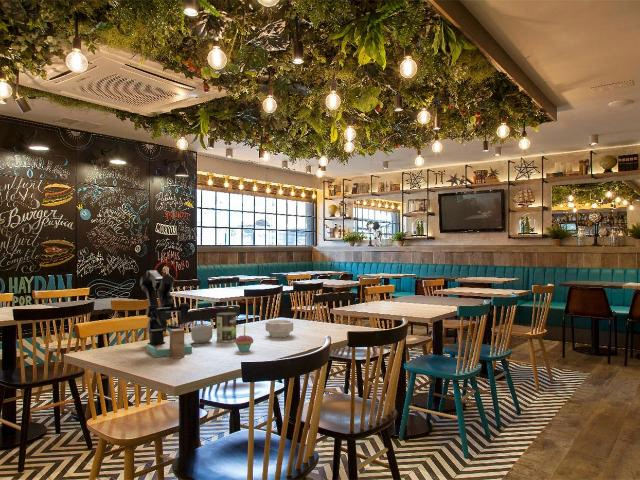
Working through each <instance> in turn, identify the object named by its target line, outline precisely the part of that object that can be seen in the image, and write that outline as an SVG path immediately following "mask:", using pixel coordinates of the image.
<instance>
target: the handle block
mask: <svg viewBox="0 0 640 480" xmlns="http://www.w3.org/2000/svg"><path fill="white" fill-rule="evenodd" d="M184 342H185V329H183V328H173V329H169V348H170V356H169V357H170V359H171V358H172V359H173V360H174V359H175V360H176V359H180V358H185V354H184Z"/></svg>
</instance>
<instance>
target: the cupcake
mask: <svg viewBox="0 0 640 480" xmlns="http://www.w3.org/2000/svg"><path fill="white" fill-rule="evenodd" d="M253 343H254V338H253V337H252V336H250V335H246V324H244V326H243V335H239V336H238V337H236V339H235V341H234V344H236V346H237V349H238V351H239V352H241V353H242V352H244V353H245V352H249V351H250V350H251V349H250V348H251V346H252V344H253Z"/></svg>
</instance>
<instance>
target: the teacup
mask: <svg viewBox="0 0 640 480" xmlns="http://www.w3.org/2000/svg"><path fill="white" fill-rule="evenodd" d="M190 335H191V341H192V342H194V343H195V344H205V343H209V342H210V341H211V340H212V339H213V325H211V324H210V325H209V324H207V325H204V324H203V325H196V326H192V327H190Z"/></svg>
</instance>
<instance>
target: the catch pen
mask: <svg viewBox="0 0 640 480" xmlns="http://www.w3.org/2000/svg"><path fill="white" fill-rule="evenodd" d="M146 352H148V353H149V354H150V355H152V356H153V357H154V358H163V357H170V347H169V348H163V349H157V348H155V347H154V345H151V344H147V345H146ZM192 353H193V346H192V345H190V344H188V343H187V342H185V341H184V355H185V354H192Z"/></svg>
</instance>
